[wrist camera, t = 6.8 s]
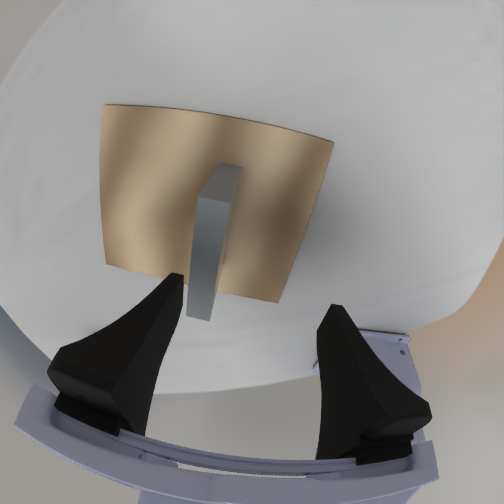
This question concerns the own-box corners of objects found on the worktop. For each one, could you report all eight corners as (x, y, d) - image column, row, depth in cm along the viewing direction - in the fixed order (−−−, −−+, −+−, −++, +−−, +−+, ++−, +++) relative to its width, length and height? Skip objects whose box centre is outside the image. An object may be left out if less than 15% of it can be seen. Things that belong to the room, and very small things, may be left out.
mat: (332, 142, 16) (334, 143, 16) (278, 300, 24) (278, 303, 23) (105, 104, 15) (102, 105, 15) (108, 261, 23) (106, 264, 22)
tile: (242, 167, 17) (230, 203, 12) (223, 264, 21) (209, 321, 16) (219, 162, 17) (196, 196, 12) (204, 260, 21) (185, 315, 16)
